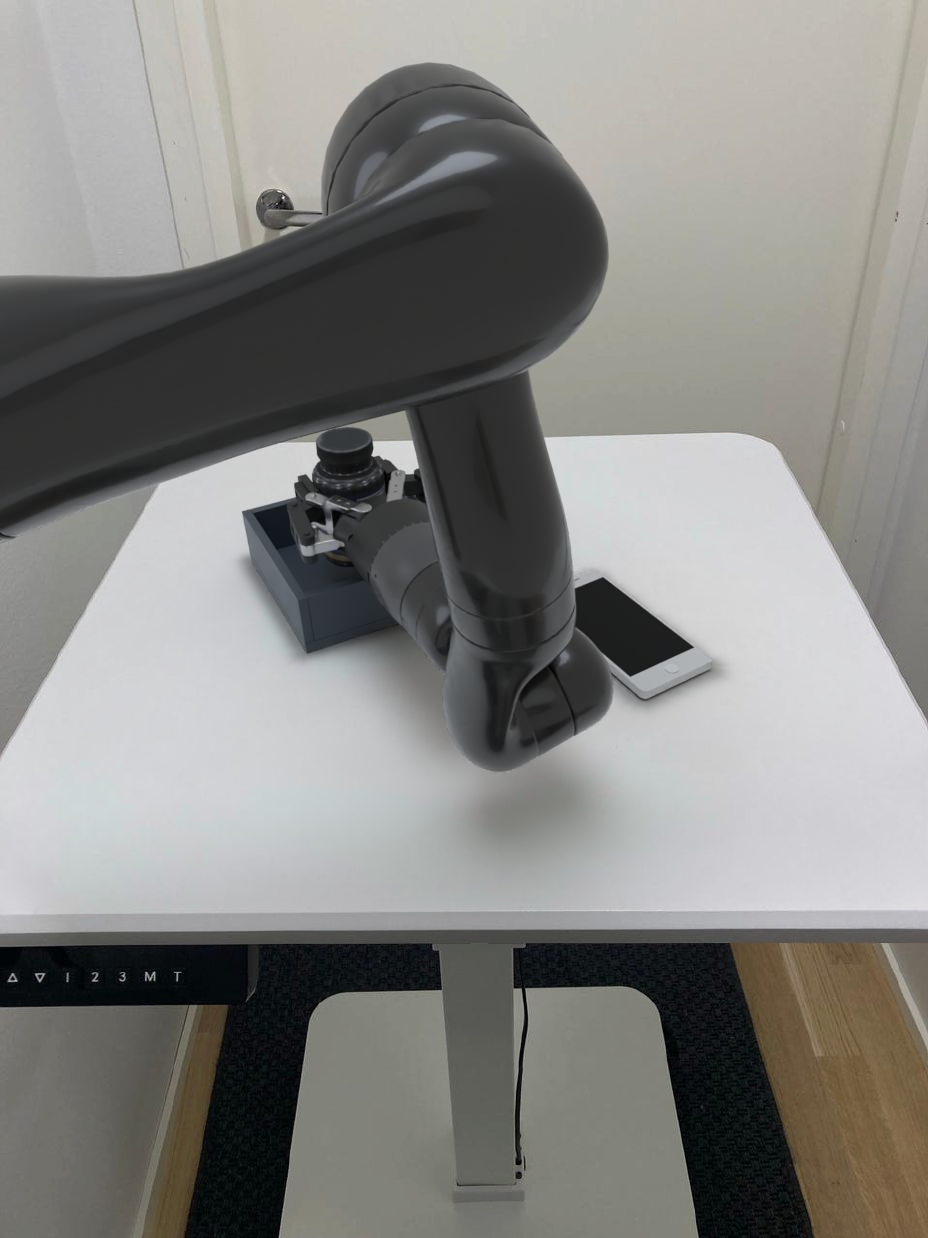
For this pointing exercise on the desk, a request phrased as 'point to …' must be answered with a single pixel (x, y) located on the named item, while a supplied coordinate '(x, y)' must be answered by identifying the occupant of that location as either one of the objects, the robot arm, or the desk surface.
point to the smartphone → (634, 638)
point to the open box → (310, 583)
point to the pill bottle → (347, 472)
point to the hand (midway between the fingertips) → (339, 475)
